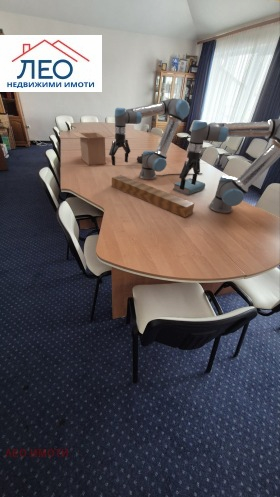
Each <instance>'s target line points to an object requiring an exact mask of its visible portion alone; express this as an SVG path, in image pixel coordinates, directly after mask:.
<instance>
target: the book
mask: <svg viewBox="0 0 280 497" xmlns="http://www.w3.org/2000/svg"><path fill="white" fill-rule="evenodd" d="M185 179H186V181H185V187H184V190H182V189H180V184H181V180H180V181H177V182H174V183H173V190H174V191H176V192H179V193H181V194H184V195H186V196H190V195H193V194H194V193H197V192H199V191H202V190H204V189H205V188H206V183H205V182H202V181H199V180H197V179H196V184H195V185H193V184H191V182H192V178H191V177H189V178H185Z"/></svg>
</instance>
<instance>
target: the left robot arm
mask: <svg viewBox="0 0 280 497" xmlns="http://www.w3.org/2000/svg"><path fill="white" fill-rule="evenodd" d="M189 113H190V104H189V102H188V100H186V99H183V98H175V97H174V98H173V97H172V98H168V99H164V100H160V101H159V102H157V103H152V104H148V105H147V104H146V105H142V106H137V107H131V108H128V109H127V108H125V107H116V108H115V109H114V139H115V141H114V140H112V142H111V146H110V150H109V153H108V155H109V156H111V158H110V159H111V165H112V166H116V153H117V152H118V149H120V148H122V149H123V151H124V162H125V163H129V161H128V160H129V154H131V148H130V144H129V140H128V139H126V126H127V125H140V124H141V123H142V120H143V118H149V117H153V116H158V115H161V116H167V117H168V120H167V122H166V125H165V128H164V131H163V132H162V135H161V138H160V141H159V142H158V146H157V148H156V150H144V151H143V152H142V154H143V158H142V163H141V169H140V172H139V178H140V179H142V180H146V181H154V180H156V178H157V177H166V176H175V175H177V176H178V175H179V176H180V174H181V173H168V174H167V173H166V174H163V175H161V174H160V175H159V174H156V173H157V172H158V173H161V172H162V171H163V170H165V169H166V168H167V164H168V163H167V157H168V156H167V153H168V151H169V148H170V147H171V144H172V141H173V139H174V136H175V134H176V132H177V129H178V126H179V124H181V123H182V122H183V120H184V119H186V118H187V117H188V116H189ZM193 174H194V173H188V174H187V176H189V175H191V176H193ZM199 175H203V173H201V172H200V173H199Z"/></svg>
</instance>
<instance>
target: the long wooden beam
mask: <svg viewBox="0 0 280 497" xmlns="http://www.w3.org/2000/svg"><path fill="white" fill-rule="evenodd" d="M111 187H112V188H115V189H117V190H119V191H122V192H124V193H127V194H129V195H131V196H134V197H136V198H138V199H141V200H143V201H145V202H147V203H150V204H152V205H154V206H156V207H158V208H161V209H164V210H166V211H167V212H168V211H169V212H170V213H173V214H176V216H177V215H178V216H180V217H182V218H185V219H186V217H188V216H190V215H192V214H193V212H194V208H195V202H192V201H190V200H188V199H185V198H182V197H179V196H176V195H174V194H172V193H169V192H166V191H165V190H161V189H159V188H156V187H153V186H151V185H148V184H145V183H143V182H140V181H138V180H135V179H132V178H130V177H127V176H124V175H123V174H119V175H115V176H111Z"/></svg>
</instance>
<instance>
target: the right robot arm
mask: <svg viewBox="0 0 280 497" xmlns="http://www.w3.org/2000/svg"><path fill="white" fill-rule="evenodd" d="M191 126H192V128H191V130H190V131H191V132H190V137H189V138H190V139H189V144H188V148H187V155H186V158H187V159H188V160H185V161H184V163H183V166H182V169H181V172H180V173H179V174H180V175H179V177H178V178H179V179H180V181H181V184H180V189H182V190H184V187H185V181H186V179H187V176H188V175H187V174H190V171H191V170H193V173H192V174H193V175H192V178H191V179H192V182H191V184H193V185H195V184H196V180H197V178H198V175H200V174H199V173H201V155H202V149H203V145H204V142H215V143H225V142H226V141H227V139H228V138H256V137H257V138H262V137H263V138H265V139H271V143H270V144H269V145H268V146H267V147H266V148H265V149H264V151H263V152H261V153H260V154H259V156H258V157H257V158H256V159H255V160H253V162H252V163H251V164H250V165H249V166H248V167H247V168H246V169H245V170H244V171H243V172H242V173H241V174H240V175H239V176H238V177H235V176H230V175H222V176H220V177H219V180H218V184H217V188H216V192H215V196H214V198H213V199H212V200H211V202H210V204H209V209H210V210H211V211H213V212H215V213H218V214H229V213H231V212H232V210H233V207H235V206H236V207H237V206H238V205H240V204H241V203H242V202H243V201H244V196H245V195H246V194H247V193H248V192H249V187H251V186H252V185H253V184H254V183H255V182H256V181H257V180H258V179H259V178H260V177H261V176H262V175H263V174H264V173H265V172H266V171H267V170H268V169H269V168H271V166H273V164H274V163H275V162H277V160H278V159H279V158H280V118H277V119H269V120H268V121H251V122H250V121H249V122H248V121H247V122H210V123H208V121H207V120H201V119H196V120H193V123H192V125H191Z"/></svg>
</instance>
